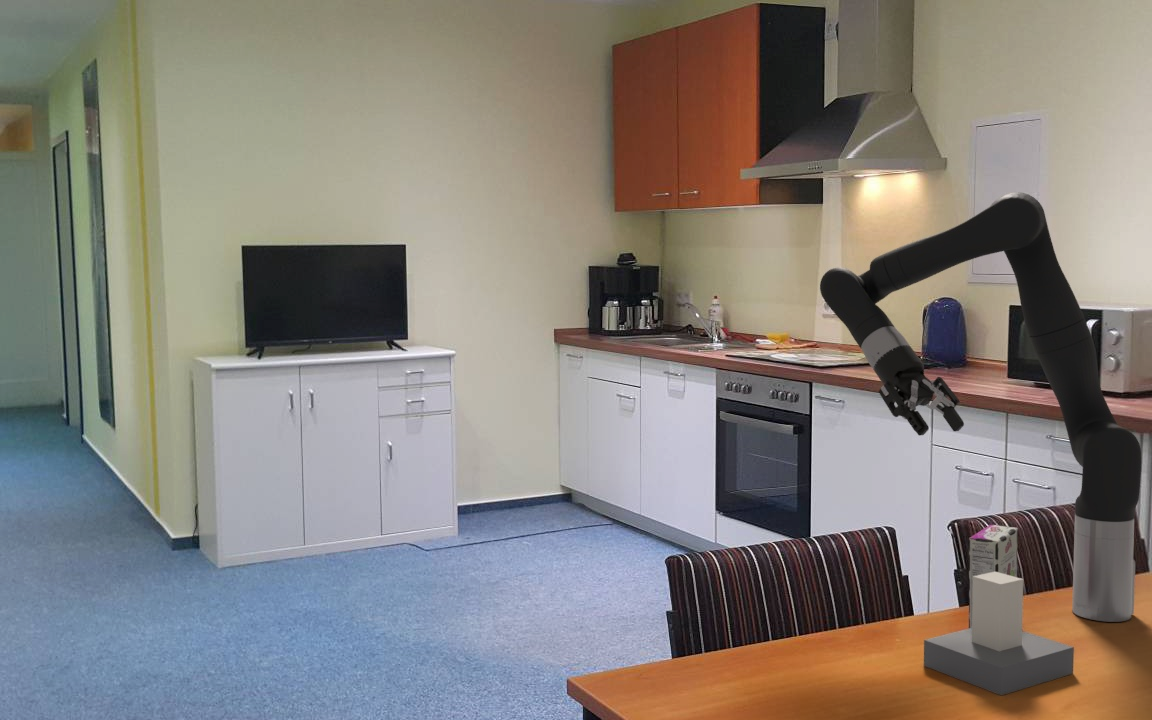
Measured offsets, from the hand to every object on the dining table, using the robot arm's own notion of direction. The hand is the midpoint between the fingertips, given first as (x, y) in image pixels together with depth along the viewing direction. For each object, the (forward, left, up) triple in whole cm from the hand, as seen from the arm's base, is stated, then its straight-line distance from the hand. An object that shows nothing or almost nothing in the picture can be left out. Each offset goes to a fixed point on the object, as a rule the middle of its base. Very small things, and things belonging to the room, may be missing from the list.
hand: (942, 430), depth 188 cm
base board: (+11, +21, -33) cm, 40 cm away
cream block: (+11, +21, -29) cm, 37 cm away
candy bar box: (-4, +8, -33) cm, 34 cm away
